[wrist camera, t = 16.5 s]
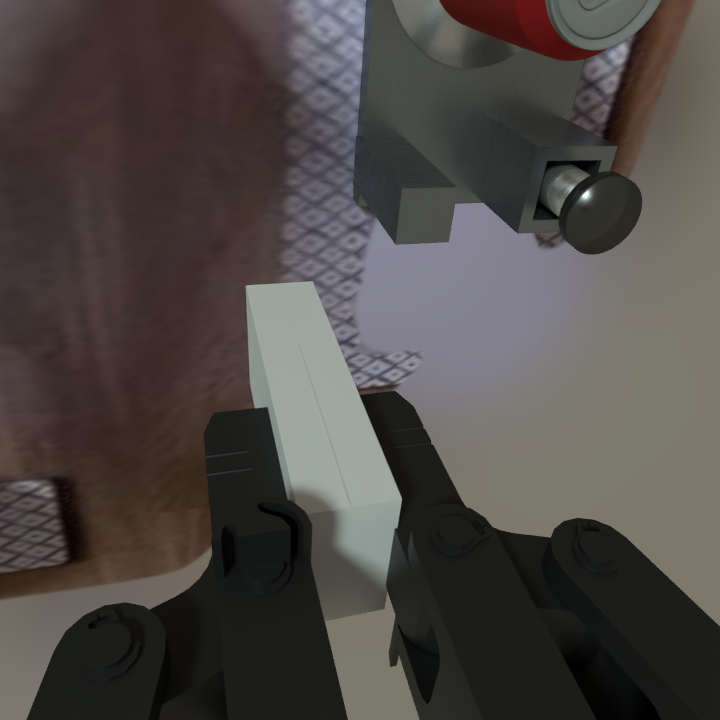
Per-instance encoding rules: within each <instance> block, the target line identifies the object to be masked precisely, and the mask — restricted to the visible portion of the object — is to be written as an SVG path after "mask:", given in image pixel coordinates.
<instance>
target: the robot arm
mask: <svg viewBox="0 0 720 720" xmlns="http://www.w3.org/2000/svg"><path fill="white" fill-rule="evenodd" d="M246 302H247V325H248V348H249V371H250V386H251V391H252V396H253V401H254V407H255V408H254V409H245V410H236V411H228V412H219V413H214V414H213V416H212V418H211V420H210V422H209V424H208V426H207V428H206V430H205V432H204V442H205V454H206V466H207V477H208V489H209V501H210V513H211V525H212V540H211V544H212V557H211V559H210V562H209V565H208V567H207V569H206V570H205V572H204V573H203V574H202V576H201V577H200V579H199V580H197V582H195V583H194V584H193V585H192V586H191V587H190V588H189V589H187V590H186V591H184V592H183V593H181V594H179V595H178V596H176V597H174V598H172V599H170V600H168V601H166V602H164V603H162V604H160V605H158V606H156V607H154V608H152V609H150V610H149V609H147V608H146V607H144V606H140V605H136V604H131V603H119V604H112V605H105V606H103V607H101V608H99V609H96V610H94V611H92V612H90V613H88V614H86V615H84V616H83V617H82V618H81V619H79V620H78V621H77V622H76V623H75V624H74V625H73V626H71V627H70V628H69V629H68V630H67V631H66V632H65V634H64V635H63V637H62V639H61V640H60V642H59V644H58V645H57V647H56V649H55V650H54V653H53V655H52V657H51V660H50V662H49V665H48V667H47V670H46V672H45V675H44V677H43V680H42V682H41V685H40V688H39V690H38V692H37V695H36V697H35V700H34V702H33V705H32V707H31V710H30V713H29V715H28V718H27V720H348V718H347V714H346V710H345V706H344V702H343V698H342V693H341V689H340V684H339V680H338V676H337V672H336V667H335V663H334V659H333V655H332V650H331V646H330V642H329V638H328V634H327V629H326V625H325V621H328V620H332V619H337V618H342V617H347V616H352V615H357V614H362V613H366V612H371V611H376V610H381V609H384V608H385V601H386V596H387V591H388V594H389V597H390V600H391V603H392V606H393V609H394V612H395V615H396V617H395V622H394V627H393V633H392V639H391V644H390V650H389V660H390V666H391V667H392V666H396V665H397V661H398V656H400V659H401V662H402V666H403V669H404V672H405V675H406V678H407V681H408V685H409V688H410V690H411V694H412V697H413V700H414V703H415V706H416V710H417V712H418V716H419V719H420V720H720V626H719V625H718V624H717V623H715V622H714V621H713V620H712V619H711V618H710V617H709V616H708V615H707V614H706V613H705V612H704V611H703V610H702V609H701V608H700V607H699V606H698V605H696V604H695V603H694V602H693V601H692V600H691V599H690V598H689V597H688V596H687V595H686V594H685V593H684V592H683V591H682V590H680V588H679V587H678V586H676V585H675V584H674V583H673V582H672V581H671V580H670V579H669V578H668V577H667V576H666V575H665V574H664V573H663V572H662V571H660V570H659V568H657V566H655V565H654V564H653V563H652V562H651V561H650V560H649V559H648V558H647V557H646V556H645V555H644V554H643V553H642V552H641V551H640V550H638V549H637V548H636V547H635V546H634V545H633V544H632V543H631V542H630V541H629V540H628V539H627V538H626V537H624V536H623V535H622V534H620V533H619V532H617V531H616V530H615V529H614V528H612V527H611V526H608V525H606V524H603V523H600V522H598V521H596V520H591V519H582V518H576V519H571V520H567V521H564V522H562V523H561V524H560V525H559V526H557V527H556V528H555V529H554V531H553V533H552V536H551V538H549V537H540V536H533V535H523V534H516V533H510V532H505V531H501V530H498V529H496V528H493V527H492V526H491V525H490V523H489V522H488V521H487V520H486V518H485V517H483V516H481V515H480V514H478V513H477V512H475V511H474V510H472V509H471V508H467V507H466V506H465V505H464V503H463V502H462V500H461V498H460V496H459V494H458V492H457V490H456V488H455V486H454V484H453V483H452V481H451V479H450V477H449V475H448V473H447V471H446V469H445V467H444V465H443V463H442V461H441V459H440V457H439V455H438V453H437V451H436V449H435V447H434V446H433V445H432V444H431V440H430V438H429V436H428V434H427V432H426V430H425V429H424V428H423V424H422V422H421V420H420V418H419V416H418V414H417V412H416V410H415V408H414V407H413V406H412V405H411V404H410V403H409V402H408V401H407V400H405V399H404V398H403V397H402V396H401V395H399V394H398V393H397V392H396V391H391V392H382V393H373V394H364V395H359V393H358V391H357V388H356V386H355V383H354V381H353V379H352V376H351V374H350V371H349V369H348V366H347V364H346V362H345V359H344V357H343V354H342V352H341V349H340V347H339V345H338V342H337V340H336V337H335V335H334V332H333V330H332V328H331V325H330V323H329V320H328V318H327V315H326V313H325V311H324V308H323V306H322V303H321V301H320V298H319V296H318V294H317V291H316V289H315V286H314V284H313V281H309V282H293V283H277V284H261V285H246Z"/></svg>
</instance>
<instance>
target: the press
mask: <svg viewBox="0 0 720 720" xmlns="http://www.w3.org/2000/svg"><path fill="white" fill-rule="evenodd" d="M584 61H585V59H582V60H577V61H561V60H556V59H553V58H550V57H547V56H544V55H541V54H538V53H535V52H533V51H530V50H527V49H524V48H521V47H518V46H516V45H513V44H510V43H508V42H505V41H502V40H500V39H497V38H495V37H492V36H489V35H487V34H484V33H482V32H479V31H477V30H474V29H472V28H470V27H467V26H465V25H462V24H461V23H459V22H457V21H456V20H454V19H453V18H452V17H451V16H450V15H449V14H448V13H447V12H446V11H445V9H444V8H443V6H442V5H441V3H440V1H439V0H366V14H365V30H364V45H363V60H362V75H361V90H360V106H359V121H358V136H356V148H355V163H354V179H353V185H354V197H353V198H354V200H355V201H356V203H357V204H358V206H359V207H364V206H369V208H370V209H371V210H372V212H373V213H374V215H375V216H376V218H377V219H378V220H379V222H380V223H381V225H382V226H383V227H384V229H385V230H386V232H387V233H388V235H389V236H390V237H391V239H392V240H393V242H394V243H395V244H415V243H416V244H417V243H437V242H449V237H450V231H451V225H452V219H453V213H454V207H455V204H457V203H485V204H486V205H487V206H488V207H489V208H490V209H491V210H492V211H493V212H494V213H496V214H497V215H498V216H499V217H500V218H501V219H502V220H503V221H504V222H506V223H507V224H508V225H509V226H510V227H511V228H512V229H513V230H514V231H516V232H517V233H537V232H558V231H560V230H559V216H557V215H556V214H555V213H553V212H552V211H551V210H549V209H548V208H547V207H546V206H544V205H543V204H542V203H540V202H539V201H538V196H539V192H540V188H541V184H542V180H543V175H544V171H545V167H546V163H547V161H568V162H570V163H571V164H573V165H575V166H576V167H578V168H580V169H581V170H583V171H584V172H586V173H588V174H589V175H593V174H595V173H598V172H603V171H610V170H611V166H612V163H613V160H614V157H615V153H616V150H617V147H618V146H617V145H615V144H613V143H611V142H609V141H607V140H605V139H603V138H601V137H599V136H597V135H595V134H593V133H591V132H589V131H587V130H585V129H584V128H582V127H580V126H578V125H576V124H574V123H572V122H570V121H569V119H570V116H571V112H572V108H573V104H574V100H575V96H576V92H577V88H578V85H579V81H580V77H581V73H582V69H583V65H584Z"/></svg>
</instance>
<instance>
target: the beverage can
mask: <svg viewBox="0 0 720 720" xmlns="http://www.w3.org/2000/svg"><path fill="white" fill-rule="evenodd" d="M439 1H440V3H441V5H442V6H443V8H444V9H445V11H446V12H447V13H448V14H449V15H450V16H451V17H452V18H453V19H454V20H456V21H457V22H459V23H461V24H462V25H465V26H467V27H470V28H472V29H474V30H477V31H479V32H482V33H484V34H487V35H489V36H492V37H495V38H497V39H500V40H502V41H505V42H508V43H510V44H513V45H516V46H518V47H521V48H524V49H527V50H530V51H533V52H535V53H538V54H541V55H544V56H547V57H550V58H553V59H556V60H561V61H577V60H582V59H586V58H589V57H592V56H595V55H597V54H599V53H601V52H603V51H605V50H606V49H608V48H611V47H614V46H616V45H618V44H620V43H622V42H624V41H625V40H627V39H628V38H630V37H631V36H632V35H634V34H635V33H636V32H637V31H638V30H639V29H640V28H641V27H642V26H643V25H644V24H645V23H646V22H647V21H648V19H649V18H650V17H651V16H652V14H653V13H654V11H655V10H656V8H657V6H658V5H659V3H660V1H661V0H439Z"/></svg>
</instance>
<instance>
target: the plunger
mask: <svg viewBox="0 0 720 720" xmlns="http://www.w3.org/2000/svg"><path fill="white" fill-rule="evenodd" d="M538 201H539V202H540V203H542V204H543V205H544V206H546V207H547V208H548V209H549V210H551V211H552V212H553V213H555V214H556V215H557V216H559V230H560V233H561V235H562V237H563V238H564V240H565V241H567V242H568V243H569V244H570V245H572V246H573V247H574V248H575V249H576V250H578V251H580V252H581V253H584V254H599V253H603V252H606V251H608V250H610V249H612V248H614V247H615V246H617V245H618V244H619V243H621V242H622V241H623V240H624V239H625V238H626V237H627V236H628V235H629V234H630V232H631V231H632V229H633V228H634V227H635V225H636V223H637V221H638V218H639V216H640V213H641V208H642V196H641V192H640V190H639V188H638V187H637V185H636V184H635V183H634V182H632V181H631V180H629V179H627V178H626V177H624V176H622V175H620V174H618V173H616V172H612V171H603V172H598V173H595V174H593V175H589V174H588V173H586V172H584V171H583V170H581V169H580V168H578V167H576V166H575V165H573V164H571V163H570V162H568V161H547V163H546V167H545V171H544V175H543V180H542V184H541V188H540V192H539V196H538Z"/></svg>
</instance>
